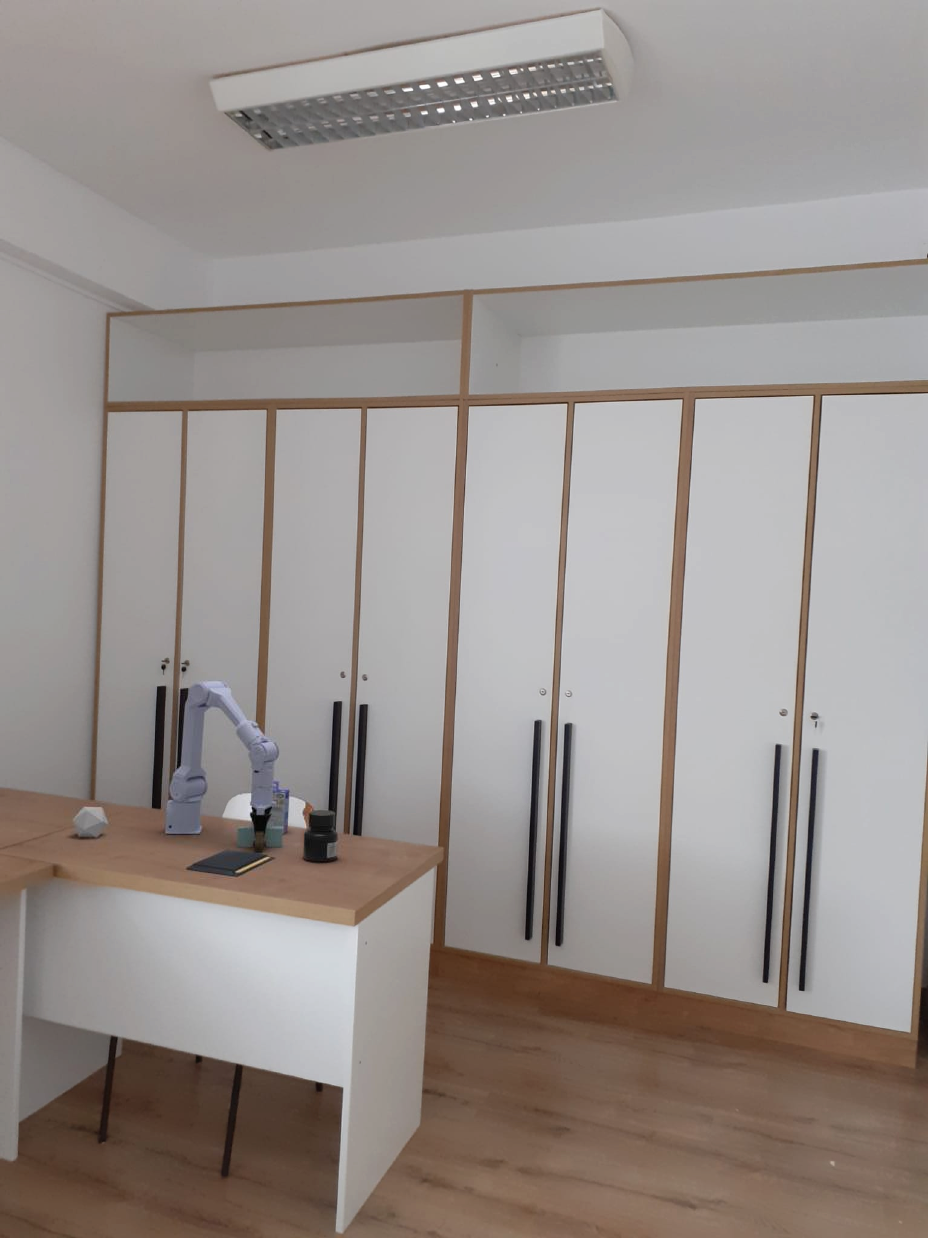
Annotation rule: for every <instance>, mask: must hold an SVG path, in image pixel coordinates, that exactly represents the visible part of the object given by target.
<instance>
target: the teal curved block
mask: <svg viewBox="0 0 928 1238" xmlns="http://www.w3.org/2000/svg"><path fill="white" fill-rule="evenodd" d="M236 835H237V836H236V848H237V847H238V848H239V847H240V848H253V847H254V841H255V832H254V826H251V825H249V826H248V825H246V826H245V825H244V826H243V825H240V826H239V825H238V826H237V833H236ZM283 835H284V834H283V827H280V826H266V831H265V836H264V839H263V840H264V841H265V843H266V845H265V847H266V848H282V847H283Z"/></svg>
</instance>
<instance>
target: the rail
mask: <svg viewBox="0 0 928 1238" xmlns="http://www.w3.org/2000/svg"><path fill="white" fill-rule="evenodd" d="M263 835H264V831H256V836H255V839H254V842H255V843H254V853H260V854H263V850H264V844H265V840H263Z"/></svg>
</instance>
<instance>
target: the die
mask: <svg viewBox="0 0 928 1238" xmlns="http://www.w3.org/2000/svg"><path fill="white" fill-rule="evenodd" d="M72 823H73V825H74V828H75V831H76V833H77V836H78V838H94V839H95V838H98V837H99V836H100V835H101V834H102V833H103V832H104V831H105V829H106V828H107V827H108V826H109V822H108V819H107V817H106V813H105V811H104V808H103V807H97V806H83V807H82V808H81V809H80V811H79V812H78V813H77V814H76V816H74V818H73V819H72Z"/></svg>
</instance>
